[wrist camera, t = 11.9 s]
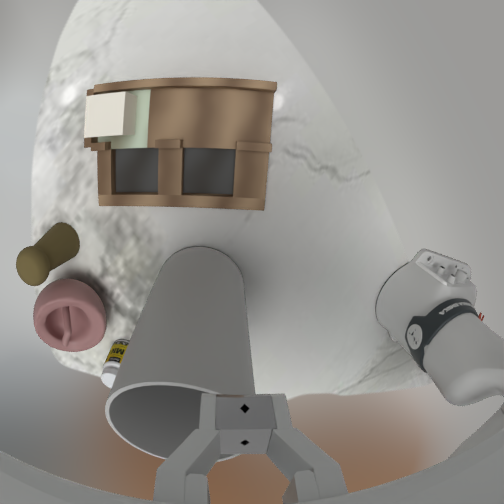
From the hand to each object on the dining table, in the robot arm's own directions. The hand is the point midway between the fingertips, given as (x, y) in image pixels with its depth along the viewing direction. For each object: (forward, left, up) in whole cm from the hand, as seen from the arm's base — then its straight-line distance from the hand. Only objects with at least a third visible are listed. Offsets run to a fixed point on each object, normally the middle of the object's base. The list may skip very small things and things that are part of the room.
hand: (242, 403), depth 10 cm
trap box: (+8, -8, -31) cm, 33 cm away
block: (+15, -12, -29) cm, 35 cm away
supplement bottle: (+18, +26, -31) cm, 45 cm away
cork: (+26, +6, -31) cm, 41 cm away
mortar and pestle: (+24, +16, -31) cm, 43 cm away
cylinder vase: (+4, +12, -31) cm, 34 cm away
